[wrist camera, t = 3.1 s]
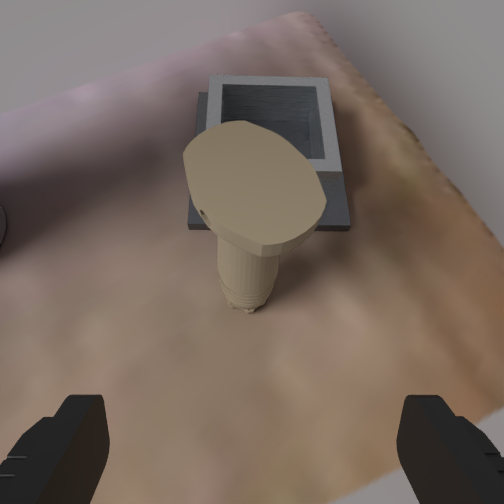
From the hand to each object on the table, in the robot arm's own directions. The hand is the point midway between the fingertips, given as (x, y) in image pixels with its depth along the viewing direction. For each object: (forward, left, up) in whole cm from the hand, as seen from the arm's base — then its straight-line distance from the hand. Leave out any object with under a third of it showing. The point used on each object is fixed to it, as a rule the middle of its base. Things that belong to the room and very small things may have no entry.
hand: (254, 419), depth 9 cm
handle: (0, +9, -16) cm, 18 cm away
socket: (+2, +23, -16) cm, 28 cm away
